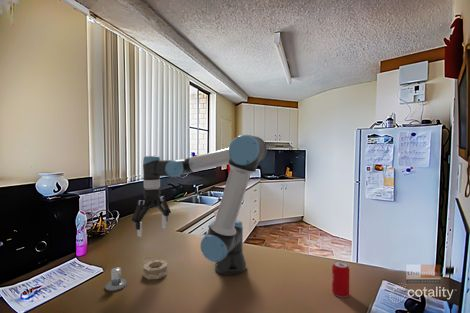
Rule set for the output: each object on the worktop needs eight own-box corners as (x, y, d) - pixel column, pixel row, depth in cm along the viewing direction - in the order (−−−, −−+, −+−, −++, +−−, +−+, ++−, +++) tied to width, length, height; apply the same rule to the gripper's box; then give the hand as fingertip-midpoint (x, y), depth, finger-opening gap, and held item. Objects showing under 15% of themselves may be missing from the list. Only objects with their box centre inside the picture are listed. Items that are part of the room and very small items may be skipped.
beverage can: (344, 289, 100) (344, 260, 99) (352, 298, 93) (352, 267, 93) (329, 289, 99) (329, 260, 99) (336, 299, 93) (336, 267, 93)
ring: (171, 272, 114) (171, 263, 114) (153, 281, 106) (153, 272, 106) (157, 266, 120) (157, 258, 120) (139, 274, 111) (139, 266, 111)
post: (130, 284, 103) (130, 268, 103) (111, 293, 97) (111, 276, 97) (120, 278, 108) (119, 263, 108) (101, 287, 101) (101, 270, 101)
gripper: (168, 184, 130) (168, 224, 130) (122, 191, 110) (123, 238, 110) (177, 185, 125) (178, 227, 126) (132, 192, 105) (132, 241, 106)
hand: (152, 232), depth 118 cm, fingers open, 13 cm apart
